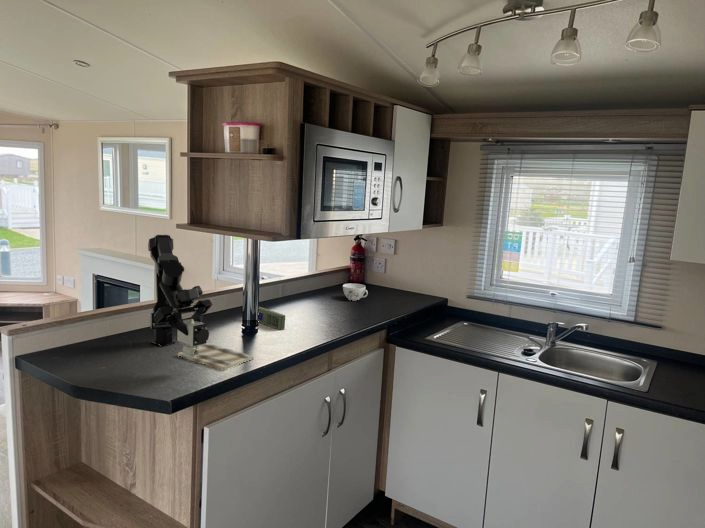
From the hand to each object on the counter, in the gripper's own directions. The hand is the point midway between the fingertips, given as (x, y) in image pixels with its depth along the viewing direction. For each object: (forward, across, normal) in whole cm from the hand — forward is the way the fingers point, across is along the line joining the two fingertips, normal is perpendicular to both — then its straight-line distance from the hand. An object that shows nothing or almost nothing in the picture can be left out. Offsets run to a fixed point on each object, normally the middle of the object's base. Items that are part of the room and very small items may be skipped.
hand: (195, 333), depth 159 cm
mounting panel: (+5, +14, +14) cm, 20 cm away
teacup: (-9, +125, +28) cm, 129 cm away
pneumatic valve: (+5, 0, +6) cm, 8 cm away
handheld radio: (-9, +57, +28) cm, 64 cm away
